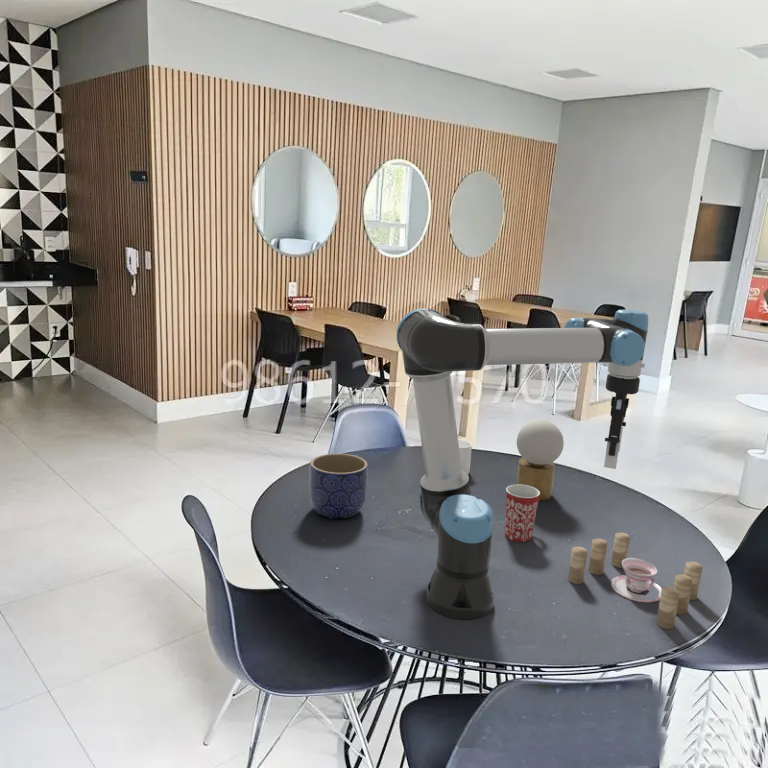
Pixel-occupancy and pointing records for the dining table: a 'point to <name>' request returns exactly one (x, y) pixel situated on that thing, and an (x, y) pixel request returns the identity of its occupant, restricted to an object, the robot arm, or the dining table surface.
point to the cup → (465, 455)
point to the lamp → (538, 455)
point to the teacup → (635, 579)
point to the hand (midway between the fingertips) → (611, 459)
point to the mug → (520, 512)
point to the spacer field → (670, 597)
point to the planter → (338, 484)
